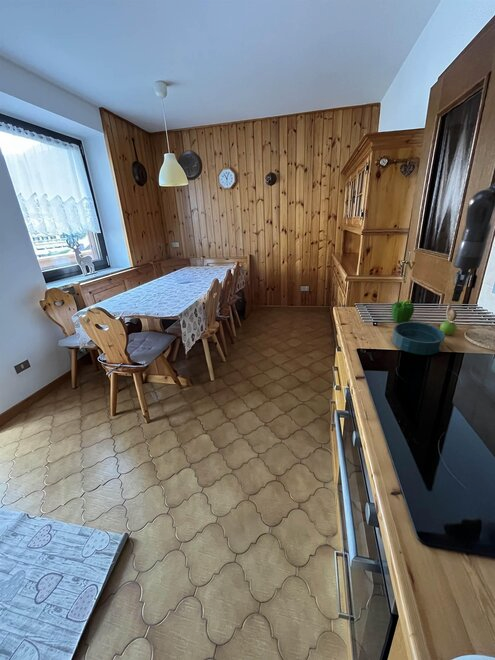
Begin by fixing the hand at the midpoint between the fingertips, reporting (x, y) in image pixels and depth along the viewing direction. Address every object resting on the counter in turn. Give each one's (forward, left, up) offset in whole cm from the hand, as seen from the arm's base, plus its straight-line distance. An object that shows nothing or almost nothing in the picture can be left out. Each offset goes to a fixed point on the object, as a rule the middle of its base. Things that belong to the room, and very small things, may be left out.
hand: (456, 297), depth 105 cm
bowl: (+8, +15, -15) cm, 23 cm away
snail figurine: (0, 0, -15) cm, 15 cm away
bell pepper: (+17, -3, -15) cm, 23 cm away
